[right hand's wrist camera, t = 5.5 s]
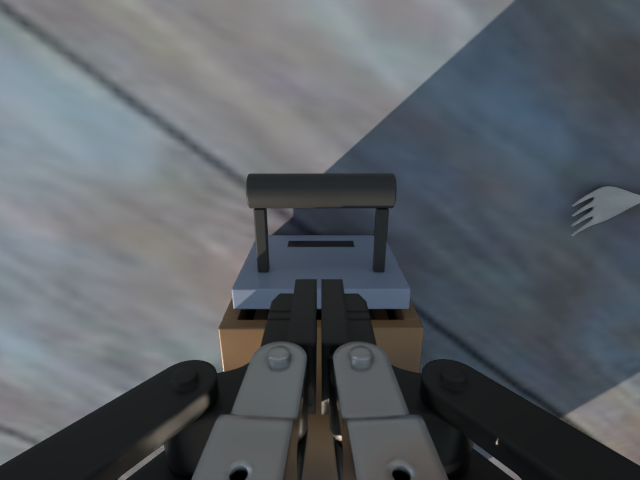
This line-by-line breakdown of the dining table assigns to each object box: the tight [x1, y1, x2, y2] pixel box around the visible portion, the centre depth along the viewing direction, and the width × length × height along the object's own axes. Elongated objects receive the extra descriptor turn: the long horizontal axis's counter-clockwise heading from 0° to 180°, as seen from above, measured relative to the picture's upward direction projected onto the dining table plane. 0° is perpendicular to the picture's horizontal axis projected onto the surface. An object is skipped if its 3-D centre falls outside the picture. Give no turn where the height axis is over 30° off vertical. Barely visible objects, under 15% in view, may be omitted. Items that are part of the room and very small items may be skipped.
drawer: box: [232, 174, 411, 320], centre depth 24 cm, size 24×9×8 cm, turn 0°
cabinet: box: [218, 298, 424, 480], centre depth 26 cm, size 20×10×10 cm, turn 0°
